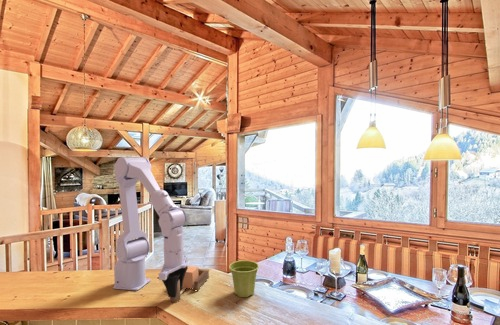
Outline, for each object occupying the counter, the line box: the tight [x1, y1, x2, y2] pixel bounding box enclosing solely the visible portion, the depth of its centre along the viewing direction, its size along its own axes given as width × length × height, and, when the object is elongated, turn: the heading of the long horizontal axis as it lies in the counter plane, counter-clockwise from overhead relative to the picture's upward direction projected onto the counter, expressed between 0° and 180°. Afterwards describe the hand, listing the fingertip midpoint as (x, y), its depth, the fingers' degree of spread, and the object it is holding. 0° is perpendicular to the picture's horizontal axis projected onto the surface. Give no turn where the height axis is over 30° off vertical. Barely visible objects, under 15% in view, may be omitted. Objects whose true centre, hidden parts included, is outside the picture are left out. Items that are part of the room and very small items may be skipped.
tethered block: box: [169, 265, 199, 303], centre depth 90 cm, size 5×14×6 cm, turn 168°
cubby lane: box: [194, 268, 210, 291], centre depth 96 cm, size 9×10×3 cm
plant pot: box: [229, 259, 260, 298], centre depth 88 cm, size 9×9×9 cm
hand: (175, 293), depth 85 cm, fingers open, 3 cm apart
